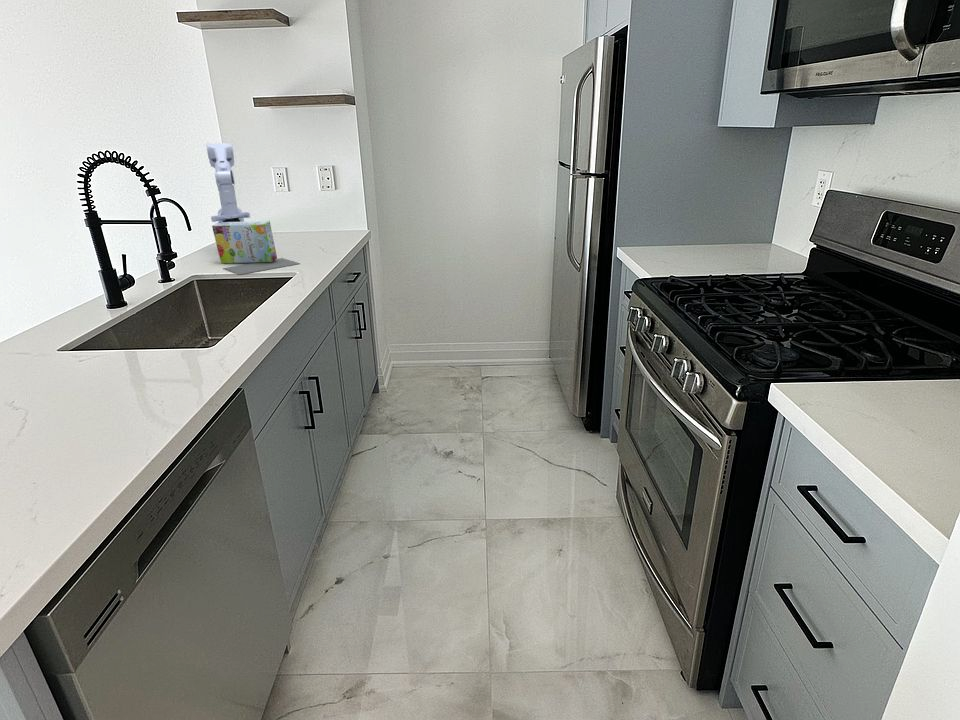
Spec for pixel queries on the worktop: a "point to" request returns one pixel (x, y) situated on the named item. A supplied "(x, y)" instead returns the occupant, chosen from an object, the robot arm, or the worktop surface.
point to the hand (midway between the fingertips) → (234, 238)
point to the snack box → (244, 242)
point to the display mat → (260, 266)
